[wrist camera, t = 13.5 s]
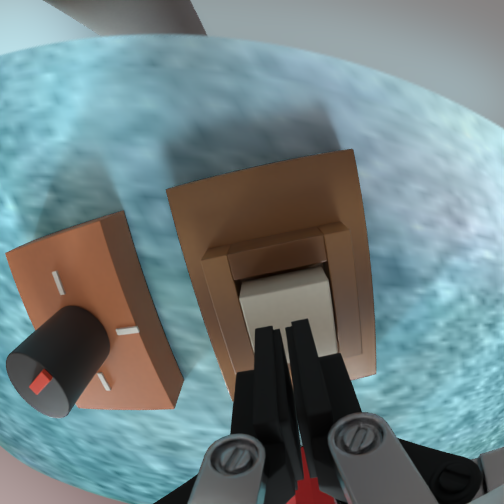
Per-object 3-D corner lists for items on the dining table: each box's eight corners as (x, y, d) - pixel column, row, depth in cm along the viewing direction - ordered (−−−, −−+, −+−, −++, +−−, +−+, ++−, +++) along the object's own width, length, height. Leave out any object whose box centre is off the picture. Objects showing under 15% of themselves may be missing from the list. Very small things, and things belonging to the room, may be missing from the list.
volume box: (31, 241, 18) (2, 254, 15) (125, 209, 17) (99, 220, 14) (93, 384, 21) (76, 409, 18) (185, 380, 20) (175, 410, 17)
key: (241, 281, 14) (238, 297, 12) (321, 264, 14) (328, 279, 12) (258, 347, 15) (258, 368, 13) (331, 333, 15) (338, 353, 13)
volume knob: (89, 372, 17) (49, 430, 12) (46, 327, 16) (-5, 375, 11) (122, 344, 16) (79, 408, 11) (73, 292, 15) (14, 341, 10)
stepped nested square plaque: (177, 185, 16) (152, 193, 13) (342, 149, 16) (365, 147, 12) (235, 380, 20) (229, 422, 16) (367, 354, 19) (385, 392, 15)
